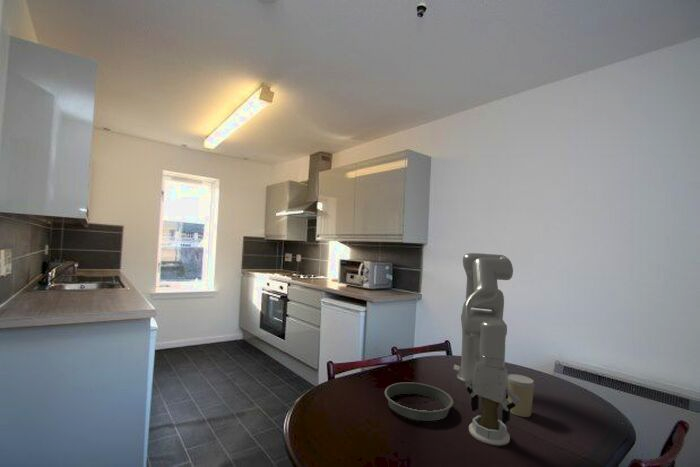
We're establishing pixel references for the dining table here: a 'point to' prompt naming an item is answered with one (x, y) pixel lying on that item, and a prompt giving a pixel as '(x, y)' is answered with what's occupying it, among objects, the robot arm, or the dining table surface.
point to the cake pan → (421, 390)
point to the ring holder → (489, 433)
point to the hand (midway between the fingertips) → (489, 415)
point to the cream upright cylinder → (521, 394)
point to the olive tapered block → (489, 414)
